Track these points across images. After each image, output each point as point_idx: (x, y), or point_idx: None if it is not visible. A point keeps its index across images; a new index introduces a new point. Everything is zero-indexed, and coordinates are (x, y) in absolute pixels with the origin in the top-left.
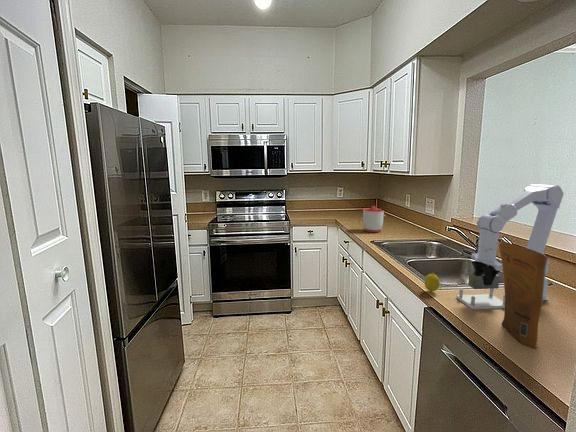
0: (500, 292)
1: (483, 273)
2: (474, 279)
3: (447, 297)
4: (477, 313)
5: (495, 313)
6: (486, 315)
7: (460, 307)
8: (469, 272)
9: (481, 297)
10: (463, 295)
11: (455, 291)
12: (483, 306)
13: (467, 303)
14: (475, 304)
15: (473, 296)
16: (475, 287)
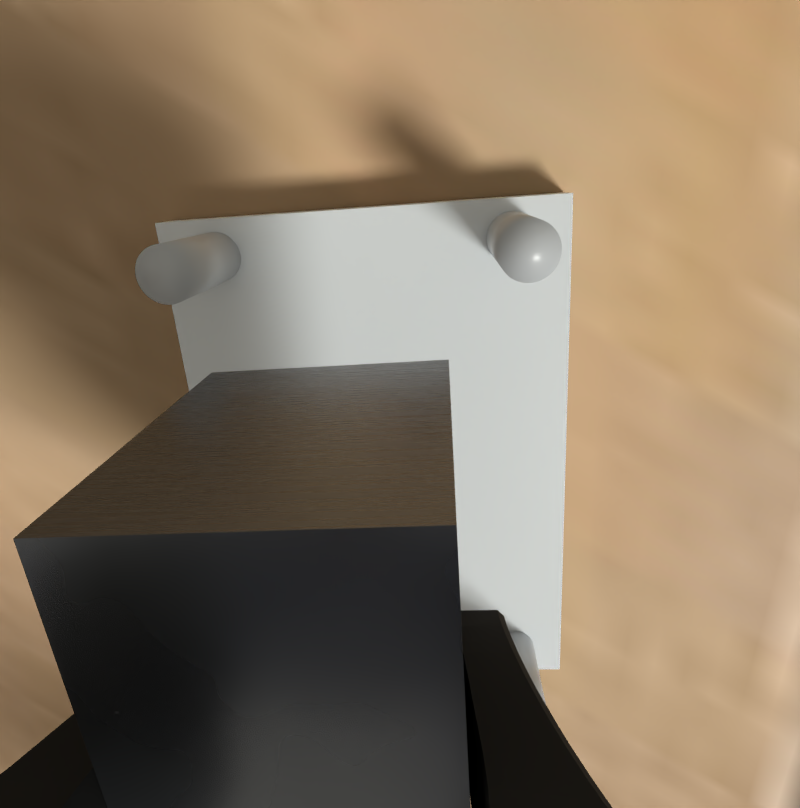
0: (653, 793)
1: None
2: (161, 458)
3: (587, 35)
4: (53, 220)
5: (96, 439)
6: (18, 304)
7: (212, 66)
8: (446, 525)
9: (466, 512)
10: (552, 304)
11: (795, 306)
12: (189, 381)
13: (277, 214)
14: (232, 305)
15: (188, 290)
16: (199, 394)
